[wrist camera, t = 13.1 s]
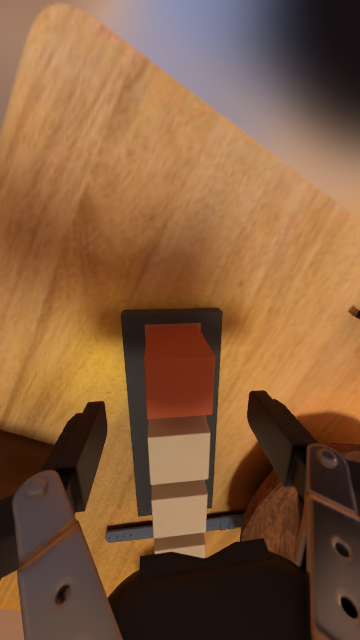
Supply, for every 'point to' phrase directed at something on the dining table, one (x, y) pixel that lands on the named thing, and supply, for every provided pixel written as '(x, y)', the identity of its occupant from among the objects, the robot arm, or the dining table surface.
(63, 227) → the dining table surface
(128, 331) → the far board
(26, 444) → the stand
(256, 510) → the bowl
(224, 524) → the wristwatch
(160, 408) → the red-brown rectangular block
